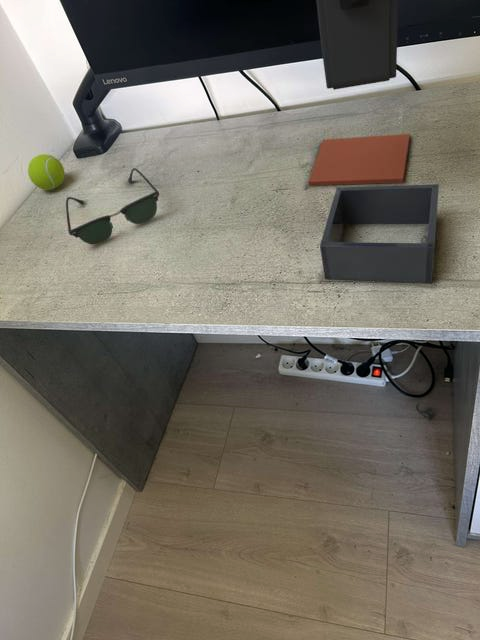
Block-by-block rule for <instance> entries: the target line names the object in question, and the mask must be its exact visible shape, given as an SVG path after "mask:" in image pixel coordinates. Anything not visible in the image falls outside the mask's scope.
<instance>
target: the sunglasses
mask: <svg viewBox="0 0 480 640" xmlns="http://www.w3.org/2000/svg"><path fill="white" fill-rule="evenodd" d="M134 171H136V172H137V173H138V174H139V175H140V176H141V177H142V178H143V179H144V181H145V182H146V183H147V184H148V185H149V186H150V187H151V189H152V190H153V191H154V192H151V193H150V194H147V195H145V196H142V197H140V198H139V199H137V200H134V201H132V202H130V203H129V204H126V205H125V206H123V207H122V208H121V209H120V210H118V211H116V212H114V213H112V214H107V215H103V216H100V217H98V218H94V219H92V220H90V221H88V222H86V223H83V224H81V225H79V226H76V227H75V228H72V227H71V219H70V212H69V201H70V200H72V201H75V202H77V203H79V204H80V205H82V206H83V205H84V200H82V199H78V198H76V197H72V196H68V197H67V198H66V199H65V213H66V223H67V231H68V234H69V236H73V237H74V238H77V239H78V238H79V239H80V240H81V241H82V242H84V243H86V244H87V245H93V246H94V245H99V244H102V243H105V242H106V241H108V240H109V239H110V238H111V236H112V234H113V229H114V224H113V223H112V221H111V218H113V217H116V216H118V215H120V214H122V215H124V218H125V219H126V221H127V222H130V223H132V224H134V225H143V224H146V223H148V222H150V221H151V220H152V219H153V218H154V217H155V216H156V214H157V211H158V203H157V202H158V201H159V196H160V192H159V190H158V189H156V187H155V186H154V185H153V184H152V183H151V182H150V180H148V178H147V177H146V176H145V175H144V174H143V173H142V172H141V171H140V170H139V169H138V168H136V167H133V168H132V169H131V170H130V174H129V176H128V180H127V182H128V183H129V184H131V183H133V182H132V181H133V174H134Z"/></svg>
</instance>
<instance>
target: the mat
mask: <svg viewBox="0 0 480 640" xmlns="http://www.w3.org/2000/svg"><path fill="white" fill-rule="evenodd" d="M410 139H411V134H410V133H406V134H405V133H404V134H403V133H402V134H389V135H374V136H359V137H343V138H330V139H329V138H328V139H322V141H321V144H320V148H319V150H318V153H317V156H316V159H315V162H314V165H313V168H312V170H311V173H310V175H309V176H310V177H309V178H308V179H309V180H308V186H340V185H341V186H342V185H344V186H345V185H371V184H376V185H377V184H378V185H379V184H403V183H404V177H405V171H406V165H407V159H408V152H409V145H410Z"/></svg>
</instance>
